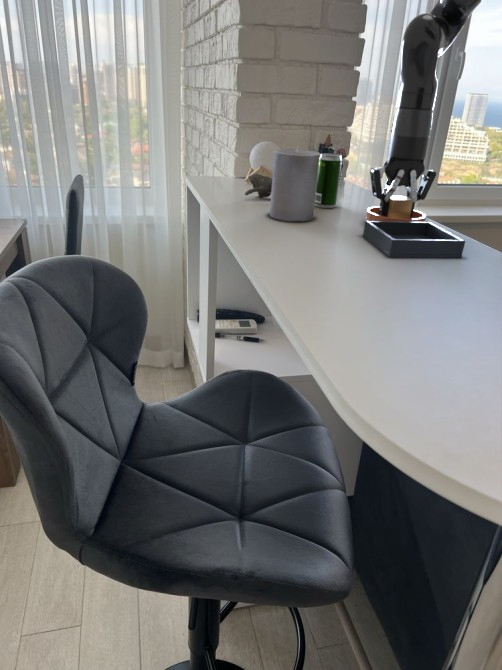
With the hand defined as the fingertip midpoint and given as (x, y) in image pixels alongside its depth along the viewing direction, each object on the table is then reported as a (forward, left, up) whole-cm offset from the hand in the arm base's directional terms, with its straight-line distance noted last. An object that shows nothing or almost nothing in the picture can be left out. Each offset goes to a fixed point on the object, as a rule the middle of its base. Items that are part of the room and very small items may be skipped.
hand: (394, 218), depth 108 cm
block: (0, 0, 0) cm, 0 cm away
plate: (0, 0, -2) cm, 2 cm away
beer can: (+10, -19, -2) cm, 22 cm away
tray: (+3, +15, -2) cm, 15 cm away
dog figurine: (+23, -26, -2) cm, 35 cm away
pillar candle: (+21, -7, -2) cm, 22 cm away
